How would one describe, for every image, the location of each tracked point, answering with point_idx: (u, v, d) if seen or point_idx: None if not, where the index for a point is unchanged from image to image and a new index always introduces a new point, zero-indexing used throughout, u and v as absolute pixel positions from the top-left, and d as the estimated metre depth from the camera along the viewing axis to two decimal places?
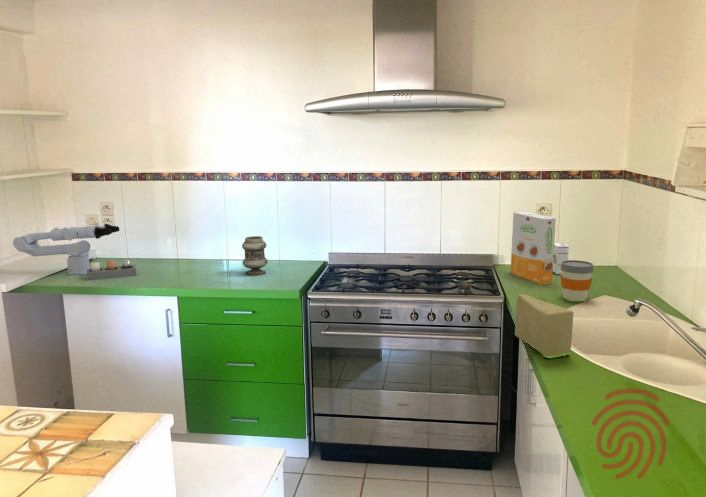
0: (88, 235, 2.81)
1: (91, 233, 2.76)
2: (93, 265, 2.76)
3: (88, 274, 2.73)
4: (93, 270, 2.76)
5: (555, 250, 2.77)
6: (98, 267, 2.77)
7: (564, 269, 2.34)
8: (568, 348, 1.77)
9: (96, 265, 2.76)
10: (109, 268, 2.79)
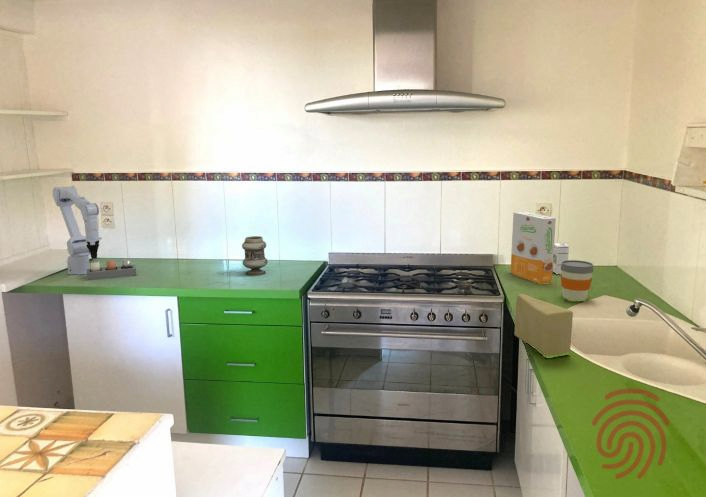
0: (88, 232, 2.72)
1: (93, 243, 2.69)
2: (93, 265, 2.76)
3: (88, 274, 2.73)
4: (93, 270, 2.76)
5: (555, 250, 2.77)
6: (98, 267, 2.77)
7: (564, 269, 2.34)
8: (568, 348, 1.78)
9: (96, 265, 2.76)
10: (109, 268, 2.79)
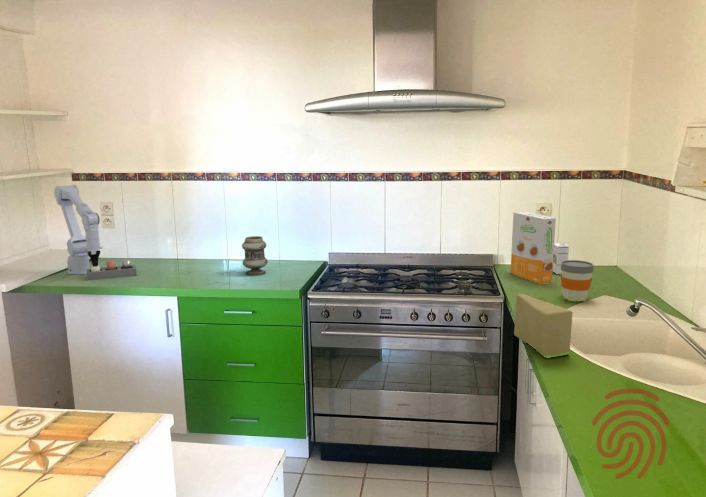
0: (89, 241, 2.72)
1: (94, 252, 2.70)
2: (93, 268, 2.76)
3: (88, 274, 2.73)
4: None
5: (555, 250, 2.77)
6: (98, 270, 2.77)
7: (564, 269, 2.34)
8: (567, 348, 1.78)
9: (96, 268, 2.76)
10: (109, 268, 2.79)
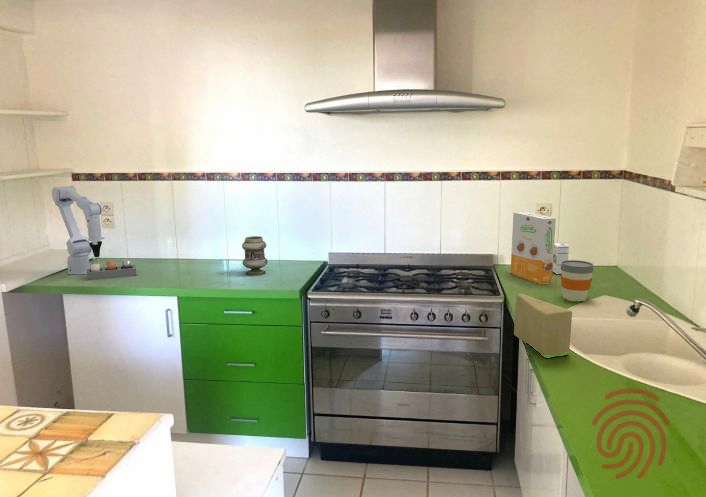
0: (91, 232, 2.72)
1: (95, 242, 2.69)
2: (93, 267, 2.76)
3: (88, 274, 2.73)
4: None
5: (555, 250, 2.77)
6: (98, 269, 2.77)
7: (564, 269, 2.34)
8: (567, 348, 1.78)
9: (96, 267, 2.76)
10: (109, 268, 2.79)
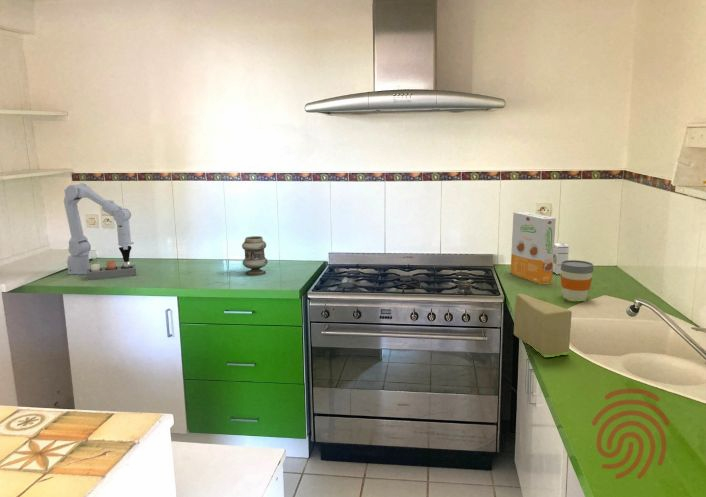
0: (121, 237, 2.78)
1: (126, 247, 2.75)
2: (93, 267, 2.76)
3: (88, 274, 2.73)
4: None
5: (555, 250, 2.77)
6: (98, 269, 2.77)
7: (564, 269, 2.34)
8: (567, 348, 1.78)
9: (96, 267, 2.76)
10: (109, 268, 2.79)
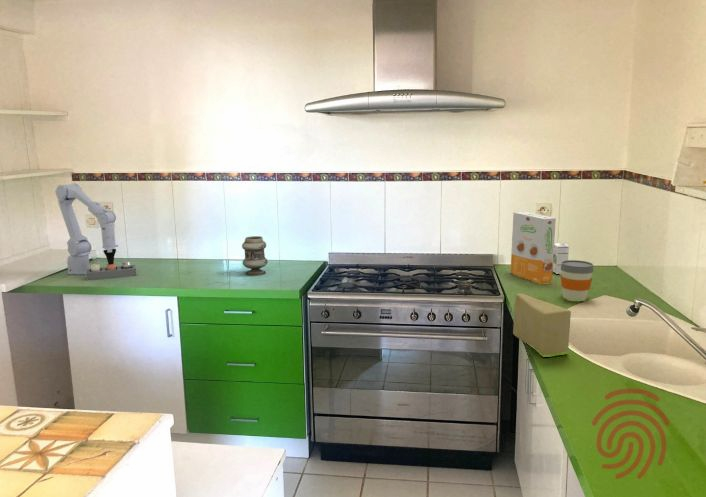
0: (105, 239, 2.75)
1: (110, 250, 2.72)
2: (93, 267, 2.76)
3: (88, 274, 2.73)
4: None
5: (555, 250, 2.77)
6: (98, 269, 2.77)
7: (564, 269, 2.34)
8: (566, 347, 1.78)
9: (96, 267, 2.76)
10: None
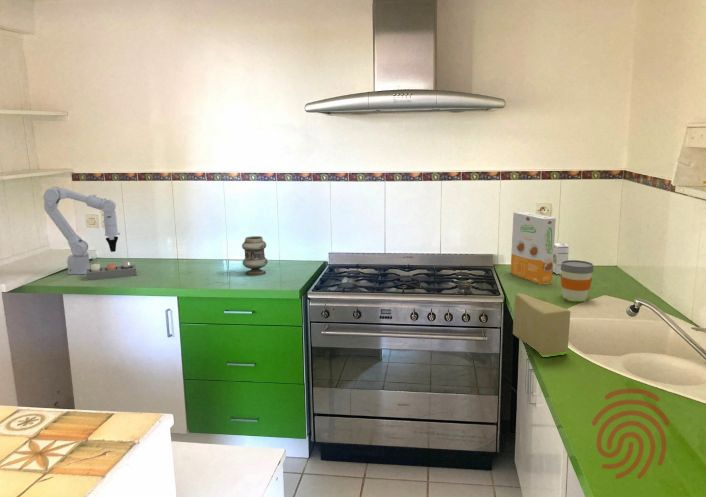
0: (108, 227, 2.84)
1: (112, 237, 2.82)
2: (93, 267, 2.76)
3: (88, 274, 2.73)
4: None
5: (555, 250, 2.77)
6: (98, 269, 2.77)
7: (564, 269, 2.34)
8: (565, 347, 1.78)
9: (96, 267, 2.76)
10: None
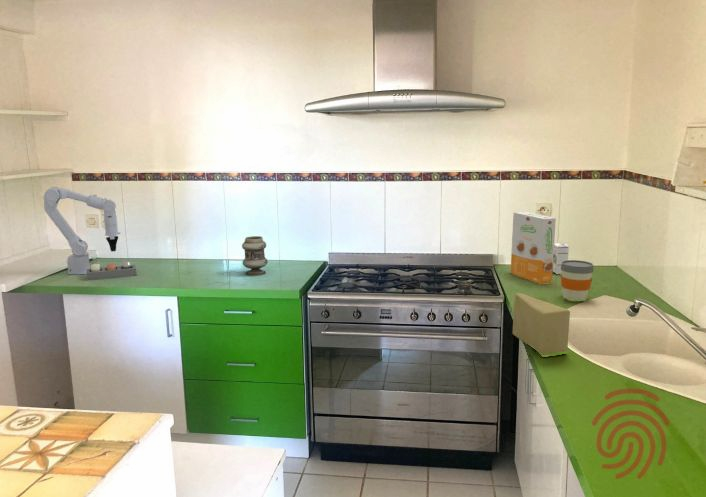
0: (108, 227, 2.85)
1: (112, 237, 2.83)
2: (93, 267, 2.76)
3: (88, 274, 2.73)
4: None
5: (555, 250, 2.77)
6: (98, 269, 2.77)
7: (564, 269, 2.34)
8: (565, 347, 1.78)
9: (96, 267, 2.76)
10: None
